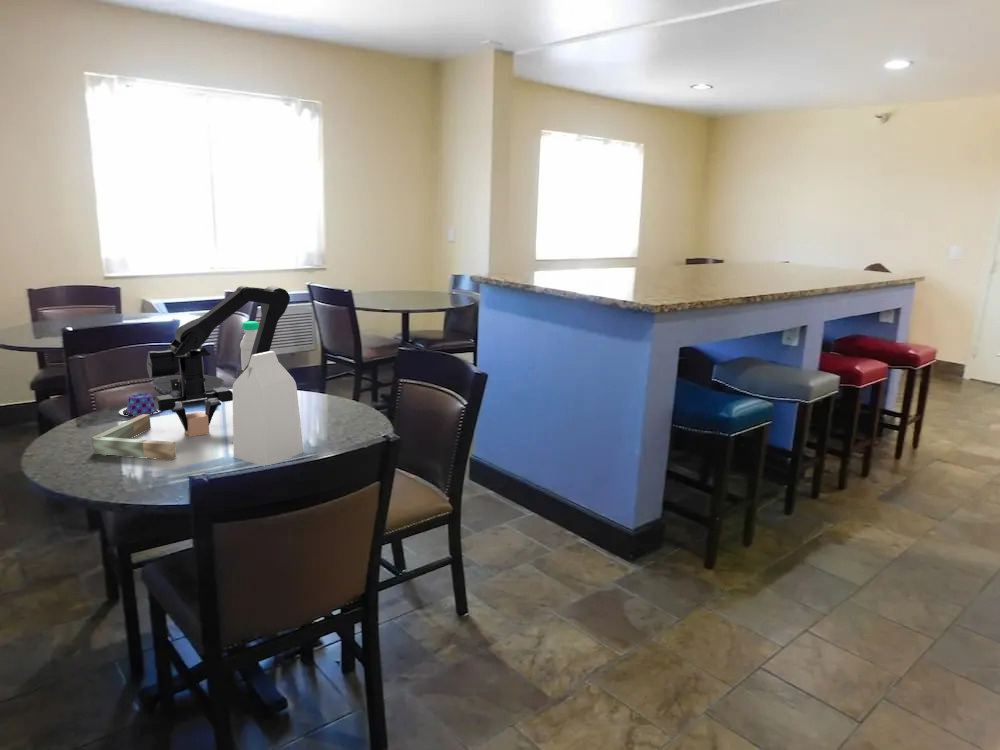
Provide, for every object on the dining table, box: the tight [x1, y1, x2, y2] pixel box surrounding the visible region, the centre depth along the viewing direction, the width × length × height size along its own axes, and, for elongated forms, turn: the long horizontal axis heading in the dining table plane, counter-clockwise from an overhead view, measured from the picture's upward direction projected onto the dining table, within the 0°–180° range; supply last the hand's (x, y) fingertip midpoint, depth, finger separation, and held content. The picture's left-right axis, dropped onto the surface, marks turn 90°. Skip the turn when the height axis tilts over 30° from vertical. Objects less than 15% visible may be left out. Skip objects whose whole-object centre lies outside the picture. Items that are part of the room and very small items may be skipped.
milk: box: [232, 350, 304, 467], centre depth 166 cm, size 12×12×26 cm
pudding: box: [118, 392, 161, 417], centre depth 200 cm, size 12×12×5 cm
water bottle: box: [239, 320, 260, 370], centre depth 213 cm, size 7×7×25 cm
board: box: [150, 374, 226, 400], centre depth 218 cm, size 22×22×5 cm
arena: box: [91, 414, 177, 461], centre depth 174 cm, size 21×21×4 cm
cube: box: [184, 411, 210, 438], centre depth 183 cm, size 5×5×5 cm
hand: (196, 429), depth 183 cm, fingers closed on cube, 5 cm apart
